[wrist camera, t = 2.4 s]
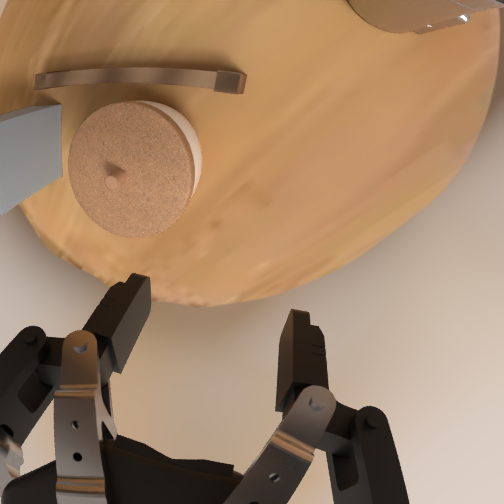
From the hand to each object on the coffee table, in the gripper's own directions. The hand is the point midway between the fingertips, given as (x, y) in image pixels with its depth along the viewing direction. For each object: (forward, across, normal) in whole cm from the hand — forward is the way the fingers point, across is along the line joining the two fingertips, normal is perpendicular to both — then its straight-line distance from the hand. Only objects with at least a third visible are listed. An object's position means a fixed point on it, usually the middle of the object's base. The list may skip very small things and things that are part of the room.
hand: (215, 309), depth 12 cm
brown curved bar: (+22, +15, -8) cm, 28 cm away
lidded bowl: (+22, +11, 0) cm, 24 cm away
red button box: (+22, +30, 0) cm, 37 cm away
